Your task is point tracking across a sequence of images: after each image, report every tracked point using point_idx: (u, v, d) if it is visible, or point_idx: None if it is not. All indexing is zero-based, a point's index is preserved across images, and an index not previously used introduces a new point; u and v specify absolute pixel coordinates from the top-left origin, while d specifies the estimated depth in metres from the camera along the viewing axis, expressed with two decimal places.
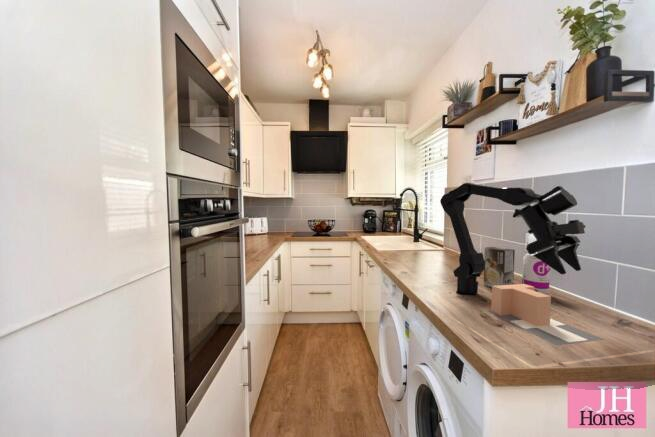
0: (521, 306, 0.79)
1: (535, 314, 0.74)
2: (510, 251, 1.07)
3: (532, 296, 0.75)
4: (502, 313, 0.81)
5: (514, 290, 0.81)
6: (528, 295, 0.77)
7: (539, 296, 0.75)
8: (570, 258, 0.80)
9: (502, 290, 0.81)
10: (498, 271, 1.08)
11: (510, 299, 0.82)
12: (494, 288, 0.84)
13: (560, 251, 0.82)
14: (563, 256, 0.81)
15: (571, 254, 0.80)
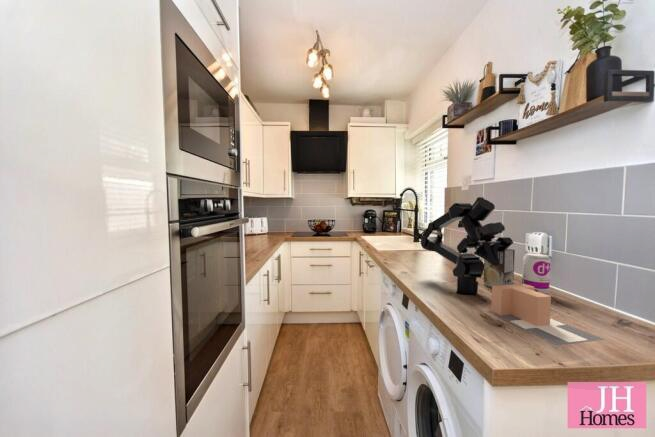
0: (521, 306, 0.79)
1: (535, 314, 0.74)
2: (510, 251, 1.07)
3: (532, 296, 0.75)
4: (502, 313, 0.81)
5: (514, 290, 0.81)
6: (528, 295, 0.77)
7: (539, 296, 0.75)
8: None
9: (502, 290, 0.81)
10: (498, 271, 1.08)
11: (510, 299, 0.82)
12: (494, 288, 0.84)
13: None
14: None
15: (492, 252, 0.92)
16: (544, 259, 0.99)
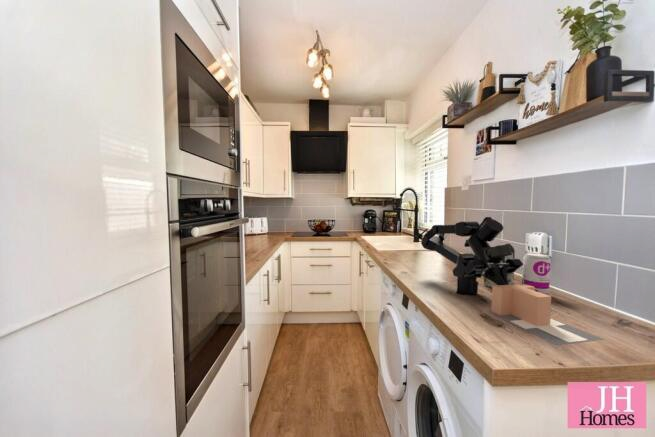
0: (521, 306, 0.79)
1: (536, 315, 0.74)
2: None
3: (532, 296, 0.75)
4: (502, 313, 0.81)
5: (514, 290, 0.81)
6: (528, 295, 0.77)
7: (539, 296, 0.75)
8: None
9: (502, 290, 0.81)
10: None
11: (510, 299, 0.82)
12: (494, 288, 0.83)
13: None
14: None
15: (501, 275, 0.89)
16: (544, 259, 0.99)
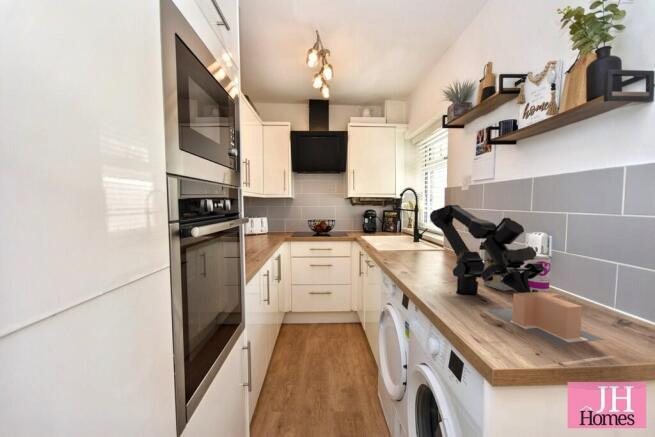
0: (547, 316, 0.71)
1: (565, 327, 0.67)
2: None
3: (560, 306, 0.68)
4: (525, 324, 0.74)
5: (539, 298, 0.74)
6: (556, 304, 0.69)
7: (569, 306, 0.67)
8: None
9: (525, 298, 0.74)
10: None
11: (534, 308, 0.74)
12: (516, 296, 0.76)
13: None
14: None
15: (522, 281, 0.81)
16: (544, 259, 0.99)
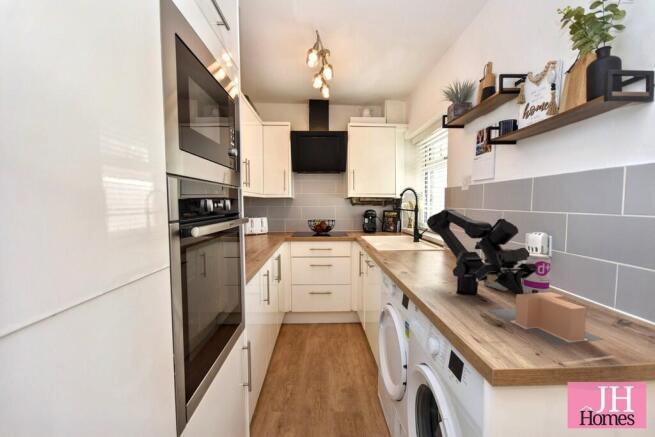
0: (550, 318, 0.71)
1: (569, 328, 0.66)
2: None
3: (564, 307, 0.67)
4: (528, 325, 0.73)
5: (542, 300, 0.73)
6: (560, 306, 0.68)
7: (573, 307, 0.66)
8: None
9: (529, 300, 0.73)
10: None
11: (537, 310, 0.74)
12: (519, 297, 0.75)
13: None
14: None
15: (515, 281, 0.84)
16: (544, 259, 0.99)
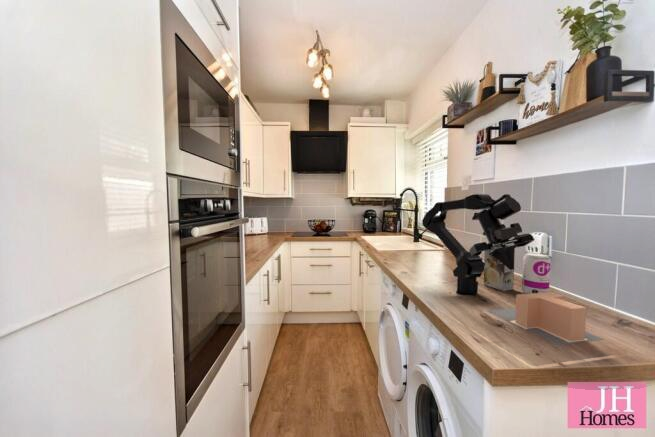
0: (550, 318, 0.71)
1: (569, 328, 0.66)
2: None
3: (564, 307, 0.67)
4: (528, 325, 0.73)
5: (542, 300, 0.73)
6: (560, 306, 0.68)
7: (573, 307, 0.66)
8: None
9: (529, 300, 0.73)
10: (498, 271, 1.08)
11: (537, 310, 0.74)
12: (519, 297, 0.75)
13: None
14: None
15: (508, 255, 0.89)
16: (544, 259, 0.99)
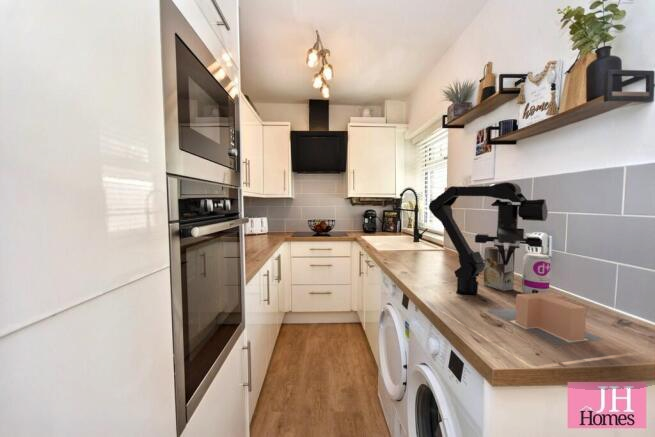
0: (550, 318, 0.71)
1: (569, 328, 0.66)
2: None
3: (564, 307, 0.67)
4: (528, 325, 0.73)
5: (542, 300, 0.73)
6: (560, 306, 0.68)
7: (573, 307, 0.66)
8: (507, 254, 0.93)
9: (529, 300, 0.73)
10: (498, 271, 1.08)
11: (537, 310, 0.74)
12: (519, 297, 0.75)
13: None
14: None
15: (507, 251, 0.92)
16: (544, 259, 0.99)
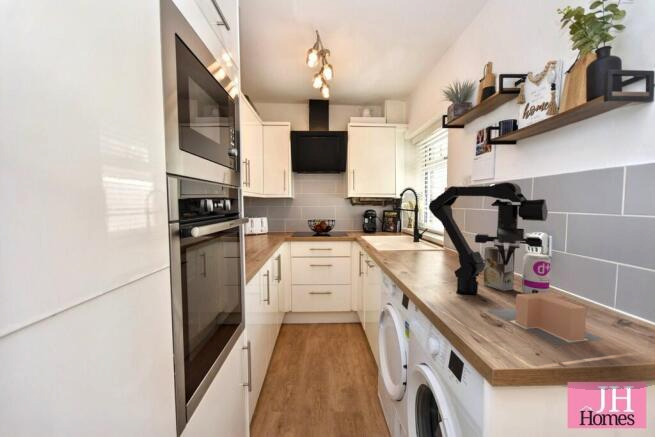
0: (550, 318, 0.71)
1: (569, 328, 0.66)
2: None
3: (564, 307, 0.67)
4: (528, 325, 0.73)
5: (542, 300, 0.73)
6: (560, 306, 0.68)
7: (573, 307, 0.66)
8: (507, 254, 0.93)
9: (529, 300, 0.73)
10: (498, 271, 1.08)
11: (537, 310, 0.74)
12: (519, 297, 0.75)
13: None
14: None
15: (507, 251, 0.92)
16: (544, 259, 0.99)
